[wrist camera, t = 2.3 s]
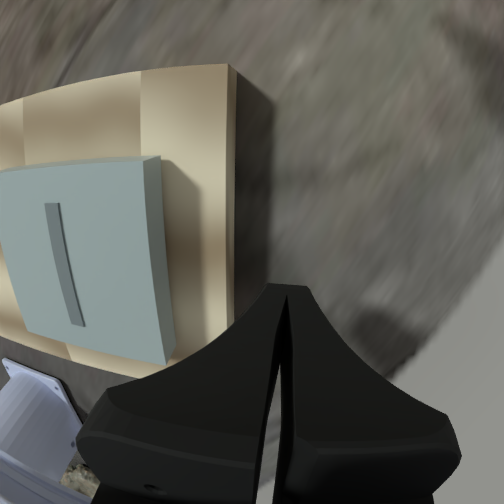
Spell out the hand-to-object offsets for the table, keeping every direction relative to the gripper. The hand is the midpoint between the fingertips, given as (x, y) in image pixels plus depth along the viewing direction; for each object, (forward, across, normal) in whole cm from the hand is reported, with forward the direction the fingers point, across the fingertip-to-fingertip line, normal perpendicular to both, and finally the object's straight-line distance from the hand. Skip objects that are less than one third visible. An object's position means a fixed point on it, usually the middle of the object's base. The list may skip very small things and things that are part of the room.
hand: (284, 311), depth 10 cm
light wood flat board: (+5, +16, 0) cm, 16 cm away
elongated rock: (+6, +27, +46) cm, 54 cm away
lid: (+3, +10, 0) cm, 10 cm away
